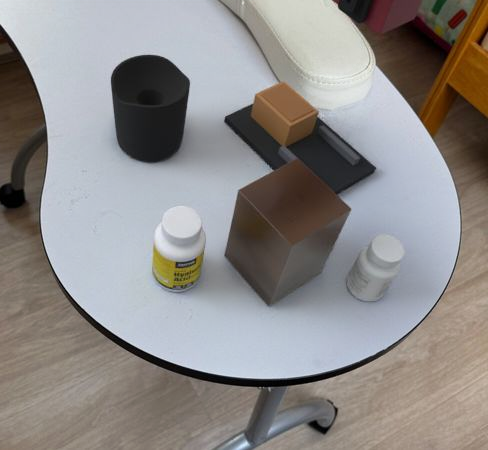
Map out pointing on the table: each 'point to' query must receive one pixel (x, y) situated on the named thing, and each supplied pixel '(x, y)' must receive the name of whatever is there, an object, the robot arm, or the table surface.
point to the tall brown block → (284, 230)
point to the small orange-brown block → (284, 113)
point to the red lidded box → (390, 14)
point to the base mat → (305, 151)
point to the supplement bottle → (178, 249)
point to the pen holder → (149, 106)
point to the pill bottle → (375, 268)
